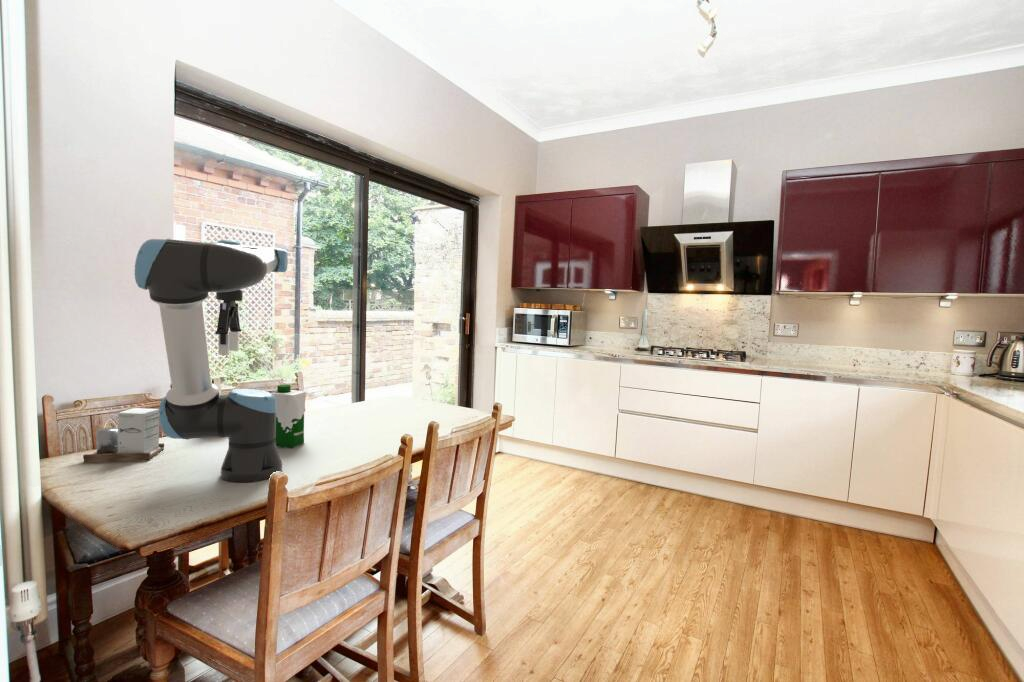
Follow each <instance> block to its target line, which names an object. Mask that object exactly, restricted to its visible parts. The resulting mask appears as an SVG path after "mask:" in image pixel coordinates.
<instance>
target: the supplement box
mask: <svg viewBox="0 0 1024 682" xmlns="http://www.w3.org/2000/svg"><path fill="white" fill-rule="evenodd" d="M159 415H160V412H159V408H146V407H145V408H141V407H133V408H130V409H126V410H124V411H120V412H118V413H117V418H118V419H117V420H118V421H117V424H118V426H117V428H118V454H120V453H150V452H152V451H155V450H157V449H159V443H160V439H159V438H160V421H159Z"/></svg>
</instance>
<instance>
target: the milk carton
mask: <svg viewBox="0 0 1024 682" xmlns="http://www.w3.org/2000/svg"><path fill="white" fill-rule="evenodd" d="M276 387H277V389H276V390H277V391H275V392H272V393H271V394H273V395H274V396H275V398H276V408H277V412H276V446H280V447H279V448H285V447H287V449H293V448H295V447H298V446H300V445H302V444H304V443H305V403H306V398H307V397H306V396H307V391H301V390H294V389H291V387H292V386H291V385H290V384H280V385H277V386H276Z"/></svg>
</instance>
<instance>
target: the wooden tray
mask: <svg viewBox="0 0 1024 682" xmlns="http://www.w3.org/2000/svg"><path fill="white" fill-rule="evenodd" d="M163 450H165V443H164V442H163V443H162V442H161V443H160V442H159V449H157V450H155V451H152V452H150V453H120V454H118V453H115V454H97V451H95V452H93V453H90V454H88V453H87V454H86V453H85V454H83V455H82V459H83V463H112V462H114V463H117V461H118V462H138V461H137V460H149V461H151V460H153V459H154V458H155V457H157V456H158V455H159V454H158V453H160V452H161V451H162V452H164V451H163ZM162 452H161V453H162ZM161 453H160V454H161ZM157 454H158V455H157ZM156 455H157V456H156ZM154 456H155V457H154ZM153 457H154V458H153ZM150 459H151V460H150Z"/></svg>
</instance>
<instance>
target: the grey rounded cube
mask: <svg viewBox="0 0 1024 682" xmlns="http://www.w3.org/2000/svg"><path fill="white" fill-rule="evenodd" d="M96 452H97V454H115V453H118V427H113V426H112V427H103V428H98V429H96Z"/></svg>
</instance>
